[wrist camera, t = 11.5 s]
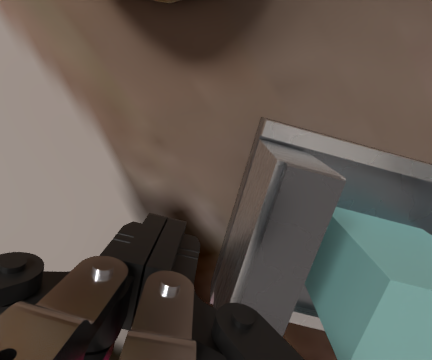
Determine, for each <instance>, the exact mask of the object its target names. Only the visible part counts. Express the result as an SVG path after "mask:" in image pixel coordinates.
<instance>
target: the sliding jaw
mask: <svg viewBox="0 0 432 360" xmlns="http://www.w3.org/2000/svg"><path fill="white" fill-rule="evenodd" d="M345 180H346V178H345V177H343V176H342V175H340V174H339V173H337V172H336V171H334V170H333V169H331V168H330V167H329V166H327V165H326V164H324V163H323V162H321V161H320V160H318V159H317V158H315V157H314V156H312V155H311V154H309V153H308V152H306V151H302V150H298V149H295V148H291V147H287V146H284V145H280V144H276V143H273V142H269V141H265V140H262V139H260V140H259V143H258V146H257V149H256V153H255V156H254V159H253V162H252V165H251V169H250V172H249V175H248V178H247V182H246V185H245V188H244V191H243V195H242V198H241V201H240V204H239V208H238V211H237V214H236V217H235V220H234V224H233V227H232V230H231V233H230V237H229V240H228V243H227V246H226V250H225V253H224V256H223V259H222V263H221V266H220V269H219V272H218V276H217V279H216V282H215V285H214V303H213V308H215V309H217V310H218V309H219V308H220V307H221V306H222V305H224V304H226V303H241V304H244V305H247V306H249V307H251V308H253V309H254V310H256V311H257V312H258V313H259V314H260V315H261V316H262V317H263V318H264V319H265V320H266V321H267V322H268V323H269V324H270V325H271V326H272V327H273V328H274V329H275V330H276V331H277V332H278V333H279V334H280V335H281V336H282V337H283V335H284V333H285V330H286V328H287V325H288V323H289V320H290V318H291V315H292V313H293V311H294V308H295V306H296V303H297V301H298V298H299V296H300V293H301V291H302V289H303V286H304V284H305V281H306V279H307V276H308V274H309V271H310V269H311V267H312V264H313V262H314V259H315V257H316V254H317V252H318V249H319V247H320V245H321V242H322V240H323V237H324V235H325V232H326V230H327V227H328V225H329V223H330V220H331V218H332V215H333V213H334V210H335V208H336V206H337V203H338V201H339V198H340V196H341V193H342V191H343V188H344V186H345V184H346V181H345Z"/></svg>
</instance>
